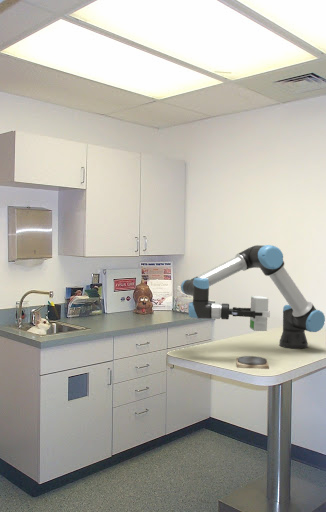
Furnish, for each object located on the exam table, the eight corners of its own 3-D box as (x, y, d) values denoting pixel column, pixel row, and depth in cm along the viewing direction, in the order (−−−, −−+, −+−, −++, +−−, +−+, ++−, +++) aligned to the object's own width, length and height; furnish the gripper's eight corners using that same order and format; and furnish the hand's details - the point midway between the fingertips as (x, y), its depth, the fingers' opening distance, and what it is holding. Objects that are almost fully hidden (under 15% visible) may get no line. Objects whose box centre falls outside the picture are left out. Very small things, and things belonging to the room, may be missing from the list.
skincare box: (249, 328, 233) (250, 295, 233) (262, 328, 234) (263, 296, 234) (254, 331, 225) (254, 297, 225) (268, 331, 226) (268, 297, 225)
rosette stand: (266, 361, 229) (266, 356, 229) (268, 368, 215) (269, 363, 215) (236, 360, 231) (236, 355, 231) (237, 367, 217) (237, 362, 217)
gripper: (221, 316, 243) (266, 317, 240) (220, 322, 221) (270, 324, 218) (221, 301, 243) (267, 302, 239) (220, 305, 221) (270, 307, 218)
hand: (268, 313), depth 229 cm, fingers closed on skincare box, 9 cm apart
